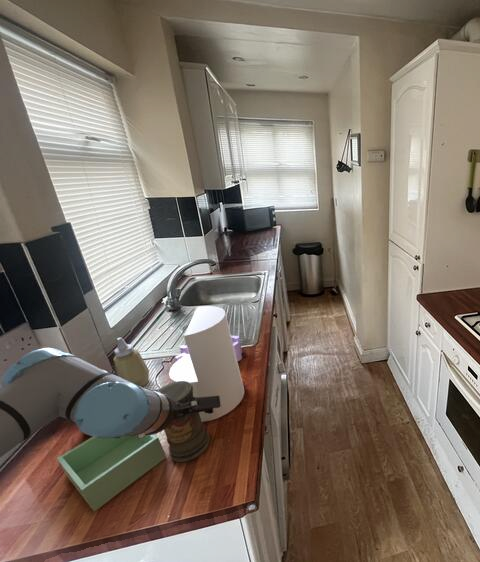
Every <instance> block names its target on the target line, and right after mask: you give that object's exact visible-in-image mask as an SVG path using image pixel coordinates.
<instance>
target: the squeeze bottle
mask: <svg viewBox="0 0 480 562" xmlns="http://www.w3.org/2000/svg"><path fill="white" fill-rule="evenodd" d="M116 343H117V348H115V349H114V350H113V351H114V352H113V353H114V355H115V356H114V357H113V363H114V367H115V371H116V376H118V377H120V378H122V379H124V380H127V381H129V382H131V383H133V384H135V385H137V386H140V387H143V388H144V386H146V385H147V384H148V382H149V377H150V370H149V367H148V366H147V364H146V361H145V360H144V359H143V356H142V355H141V353H140V351H139V350H138V349H135V348H134V347H133V344H131V343H130V344H128V343H126V341H125V340H124V338H122V337H117V338H116Z"/></svg>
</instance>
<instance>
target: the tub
mask: <svg viewBox="0 0 480 562" xmlns="http://www.w3.org/2000/svg"><path fill="white" fill-rule="evenodd" d="M166 458H167V455H166V453H165V451H164V448H163V446H162V443H161V441H160V438H159V436H157V434H154V435H145V437H144V438H141V439H139V438H138V436H122V437H120V438H108V437H107V438H99V437H95V436H91V437H90V438H89V439H87V440H85V441H83V442H82V443H80V444H79V445H76V446H75V447H73V448H71V449H70V450H68V451H67V452H65V453H63V454H61V455H60V456H58V457H56V460H57V462H58V463H59V465H60V467H61V469H62V470H63V472H64V474H65V475H66V477H67V478H68V480H69V481H70V482H71V484H72V486H74V488H75V489H76V490H77V491H78V493H79V494H80V495H81V497H82V498H83V499H84V501H85V502H86V503H87V505H88V506H89V507H90V508H91V510H92V511H93V512H96V511H97V510H98V509H99V508H102V507H103V506H104V505H105V504H107V503H108V502H109V501H111V500H112V499H113V498H114V497H116V496H117V495H118V494H119V493H121V492H123V490H126V488H127V487H129V486H130V485H132V484H133V483H134V482H136V481H137V480H138V479H139V478H141V477H143V476H144V475H145V474H147V472H149V471H150V470H151V469H153V468H154V467H155V466H157V465H158V464H159V463H160V462H162V461H163V460H165V459H166Z"/></svg>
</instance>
